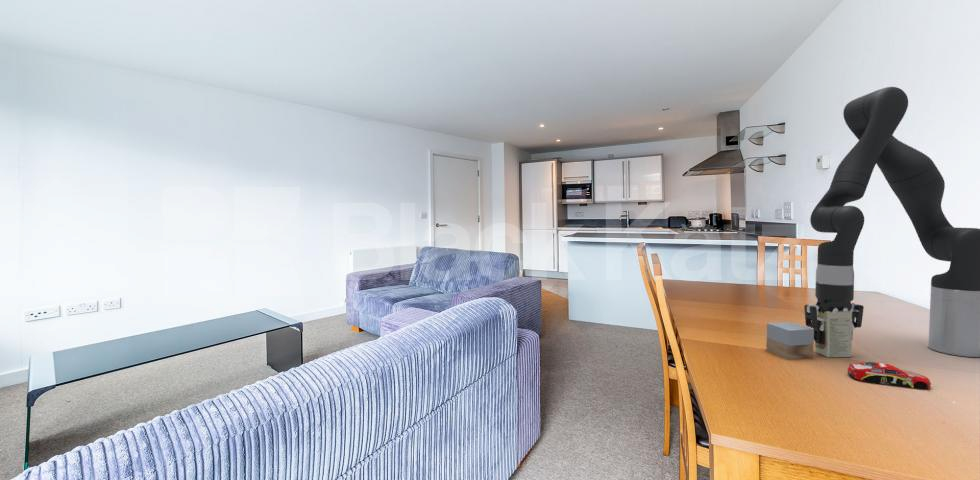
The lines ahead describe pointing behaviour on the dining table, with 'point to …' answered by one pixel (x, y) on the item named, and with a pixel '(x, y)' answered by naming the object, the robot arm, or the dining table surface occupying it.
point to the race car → (887, 375)
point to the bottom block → (790, 350)
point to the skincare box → (836, 334)
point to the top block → (790, 333)
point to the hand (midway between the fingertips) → (832, 343)
